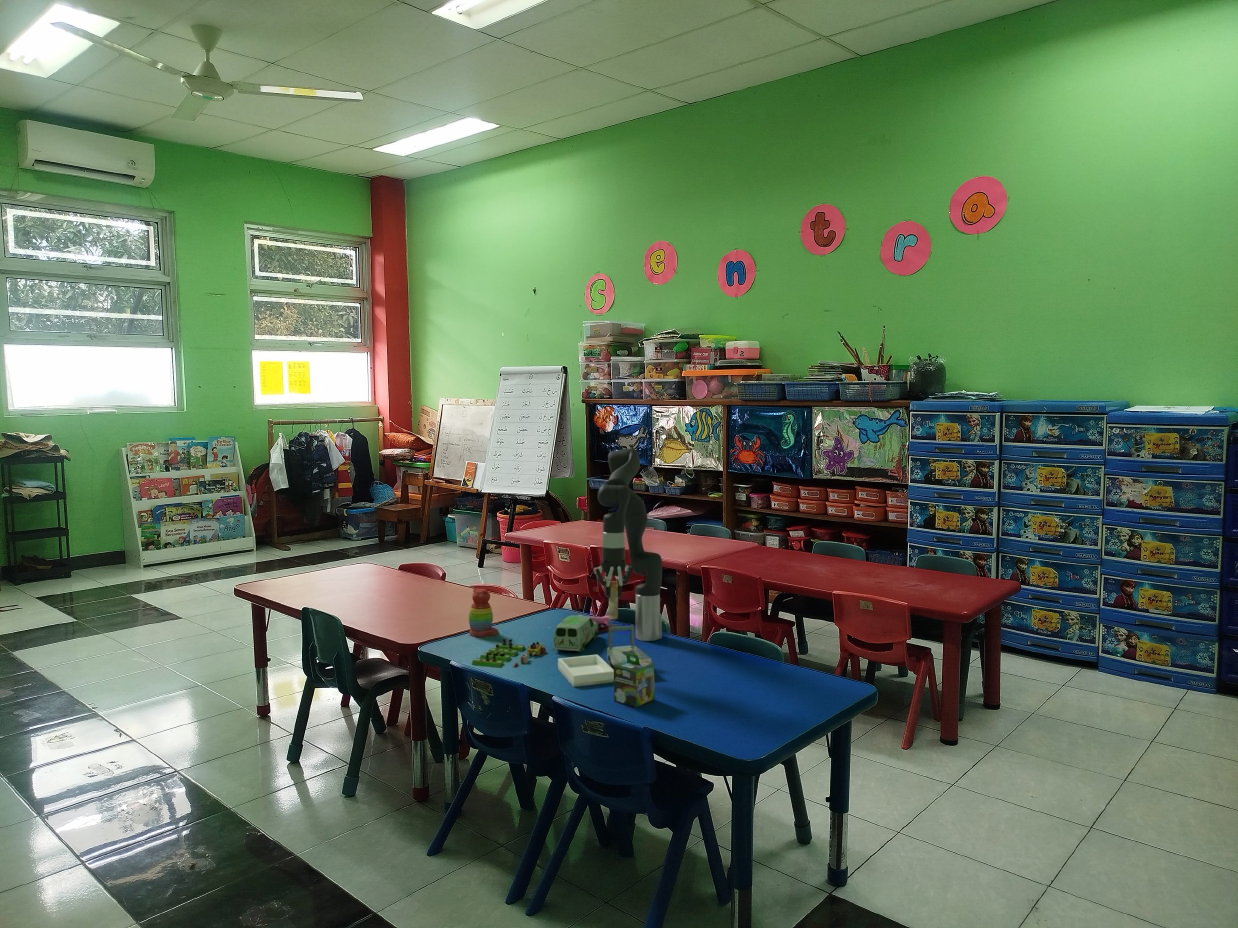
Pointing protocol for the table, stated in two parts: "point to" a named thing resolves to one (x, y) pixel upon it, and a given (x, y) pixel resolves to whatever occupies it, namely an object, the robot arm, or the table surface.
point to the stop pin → (613, 600)
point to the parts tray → (586, 670)
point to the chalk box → (634, 681)
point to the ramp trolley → (623, 648)
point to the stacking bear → (481, 615)
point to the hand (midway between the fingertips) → (613, 596)
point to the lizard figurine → (602, 624)
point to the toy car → (574, 633)
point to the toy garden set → (507, 654)
